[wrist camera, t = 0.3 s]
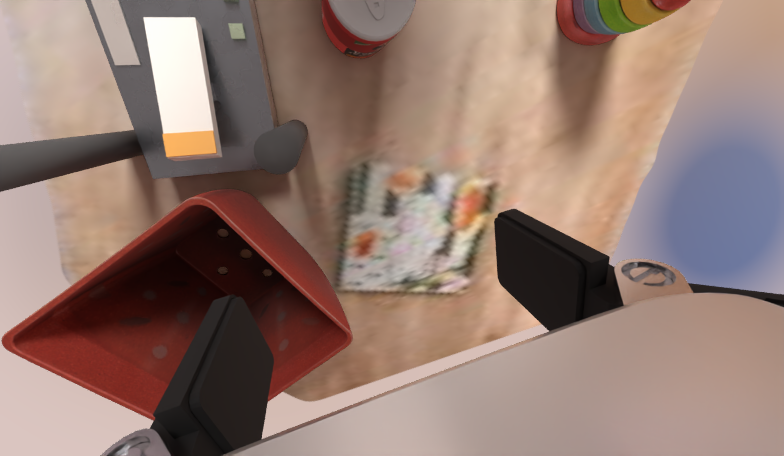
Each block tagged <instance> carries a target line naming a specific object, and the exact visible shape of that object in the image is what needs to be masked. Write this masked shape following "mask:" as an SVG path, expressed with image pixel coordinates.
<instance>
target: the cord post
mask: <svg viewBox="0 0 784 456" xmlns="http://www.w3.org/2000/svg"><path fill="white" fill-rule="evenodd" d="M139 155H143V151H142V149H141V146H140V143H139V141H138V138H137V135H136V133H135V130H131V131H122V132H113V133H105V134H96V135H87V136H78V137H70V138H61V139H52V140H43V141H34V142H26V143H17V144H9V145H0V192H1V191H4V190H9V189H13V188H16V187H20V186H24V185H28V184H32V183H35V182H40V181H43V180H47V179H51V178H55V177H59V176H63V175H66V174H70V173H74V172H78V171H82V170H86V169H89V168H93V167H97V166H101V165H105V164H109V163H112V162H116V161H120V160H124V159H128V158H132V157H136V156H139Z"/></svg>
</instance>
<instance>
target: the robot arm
mask: <svg viewBox="0 0 784 456" xmlns="http://www.w3.org/2000/svg"><path fill="white" fill-rule="evenodd" d="M494 224H495V240H496V256H497V272H498V279H499V282H500V284H501V285H502V286H503V287H504V288H505V289H506V290H507V291H508V292H509V293H510V294H511V295H512V296H513V297H514V298H515V299H516V300H517V301H518V302H519V303H520V304H522V305H523V306H524V307H525V308H526V309H527V310H528V311H529V312H530V313H531V314H532V315H533V316H534V317H535V318H536V319H537V320H538V321H539V322H540V323H541V324H542V325H543V326H544V327H545V328H547V329H548V330H549V332H547V333H544V334H541V335H538V336H536V337H533V338H530V339H528V340H525V341H522V342H519V343H517V344H514V345H511V346H508V347H506V348H503V349H500V350H498V351H495V352H492V353H490V354H487V355H484V356H481V357H478V358H476V359H474V360H470V361H468V362H465V363H463V364H460V365H457V366H454V367H452V368H449V369H446V370H444V371H441V372H438V373H436V374H433V375H430V376H427V377H425V378H422V379H419V380H417V381H414V382H411V383H409V384H406V385H403V386H401V387H398V388H396V389H393V390H390V391H387V392H385V393H382V394H379V395H377V396H374V397H372V398H369V399H366V400H364V401H361V402H359V403H356V404H353V405H350V406H348V407H345V408H343V409H340V410H337V411H335V412H332V413H330V414H327V415H324V416H322V417H319V418H316V419H314V420H311V421H308V422H306V423H303V424H300V425H298V426H295V427H293V428H290V429H287V430H285V431H282V432H280V433H277V434H275V435H272V436H269V437H267V438H265V439H262V440H261V438H262V432H263V426H264V420H265V414H266V408H267V402H268V396H269V390H270V384H271V378H272V372H273V366H274V358H273V354H272V352H271V350H270V348H269V346H268V344H267V342H266V340H265V339H264V337H263V335H262V333H261V331H260V329H259V327H258V326H257V324H256V322H255V320H254V318H253V316H252V314H251V312H250V311H249V309H248V307H247V305H246V303H245V301H244V300H243V298H242V297H236V296H235V295H233V294H232V295H229V296H226V297H222V298H219V299H216V300H214V301H213V302H212V304H211V306H210V308H209V310H208V312H207V314H206V315H205V317H204V319H203V321H202V323H201V325H200V327H199V329H198V330H197V332H196V334H195V336H194V338H193V340H192V342H191V344H190V346H189V347H188V349H187V351H186V353H185V355H184V357H183V359H182V361H181V362H180V364H179V366H178V368H177V370H176V372H175V374H174V376H173V378H172V379H171V381H170V383H169V385H168V387H167V389H166V391H165V393H164V394H163V396H162V398H161V400H160V402H159V404H158V406H157V408H156V410H155V411H154V413H153V416H154V417H155V420H154V422H153V424H152V425H151V427H150V429H142V430H139V431H135V432H134V433H131V434H129V435H127V436H125V437H123V438H122V439H121V440H119V441H118V442H116V443H115V444H113V445H112V446H111V447H110V448H108V449H107V450H106V451H105V452H104V453H103V454H102V455H101V456H784V295H782V294H773V293H765V292H757V291H748V290H740V289H732V288H724V287H715V286H706V285H699V284H689V283H687V281H686V279H685V277H684V276H683V275H682V274H681V273H680V271H678V270H677V269H675V268H673V267H672V266H669V265H667V264H665V263H662V262H658V261H654V260H647V259H628V260H623V261H621V262H619V263H617V264H616V266H615V267H613V266H611V265H609V256H607V255H605V254H603V253H601V252H599V251H597V250H595V249H593V248H591V247H589V246H587V245H585V244H583V243H581V242H579V241H577V240H575V239H573V238H571V237H570V236H568V235H566V234H564V233H562V232H560V231H558V230H556V229H554V228H552V227H550V226H548V225H546V224H544V223H542V222H540V221H538V220H536V219H534V218H532V217H530V216H528V215H526V214H524V213H522V212H520V211H519V210H517V209H511V210H508V211H505V212H501V213H499V214H498V218H496V219H495V221H494Z"/></svg>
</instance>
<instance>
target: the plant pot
mask: <svg viewBox="0 0 784 456" xmlns="http://www.w3.org/2000/svg"><path fill="white" fill-rule="evenodd" d="M219 229H225V230H227V231H228V233H229V235H228V237H226V238H221V237H219V236H218V234H217V231H218V230H219ZM243 249H248V250H250V251H251V253H252V257H251V258H250V259H243V258H241V257H240V251H242V250H243ZM222 266H223V267H226V268H227V269H228V273H227V274H226V275H220V274H219V273H218V272H217V269H218V268H219V267H222ZM265 269H269V270H271V272H272V275H271V276H270V277H264V276H263V274H262V271H263V270H265ZM232 294H233V295H235V296H236V297H242V298H243V300H244V301H245V303H246V305H247V307H248V309H249V311H250V312H251V314H252V316H253V318H254V320H255V322H256V324H257V326H258V327H259V329H260V331H261V333H262V335H263V337H264V339H265V340H266V342H267V344H268V346H269V348H270V350H271V352H272V354H273V358H274V366H273V372H272V378H271V384H270V390H269V396H268V401H270V400H271V399H272V398H274V397H275V396H277V395H278V394H280V393H281V392H283V391H284V390H285V389H287V388H288V387H290V386H291V385H292V384H294V383H295V382H297V381H298V380H300V379H301V378H302V377H304V376H305V375H307V374H308V373H310V372H311V371H313V370H314V369H315V368H317V367H318V366H320V365H321V364H323V363H324V362H326V361H327V360H328V359H330V358H331V357H333V356H334V355H336V354H337V353H338V352H340V351H341V350H343V349H344V348H346V347H347V346H348V345H349V344H350V343H351V342H352V339H353V336H352V333H351V330H350V327H349V324H348V321H347V319H346V316H345V314H344V311H343V309H342V307H341V304H340V302H339V300H338V298H337V296H336V294H335V292H334V290H333V288H332V286H331V285H330V283H329V281H328V279H327V278H326V276H325V275H324V273H323V272H322V270H321V269H320V267H319V266H318V264H317V263H316V262H315V260H314V259H313V258H312V257H311V255H310V254H309V253H308V252H307V251H306V250H305V249H304V248H303V247H302V246H301V245H300V244H299V243H298V242H297V241H296V240H295V239H294V238H293V237H292V236H291V235H290V234H289V233H288V232H287V230H286V229H285V228H284V227H283V226H282V225H281V224H280V223H279V222H278V221H277V220H276V219H275V218H274V217H273V216H272V215H271V214H270V213H269V212H268V211H267V210H266V209H265V208H264V207H263V206H262V205H261V203H260V202H259V201H258V200H257V199H256V198H255V197H254V196H252V195H251V194H249V193H246V192H244V191H241V190H235V189H220V190H214V191H210V192H206V193H202V194H199V195H196V196H193V197H191V198H189V199H187V200H185V201H184V202H182V203H181V204H180V205H178V206H177V207H176V208H175V209H173V210H172V211H171V212H169V213H168V214H167V215H165V216H164V217H163V218H161V219H160V220H159V221H158V222H156V223H155V224H154V225H152V226H151V227H150V228H148V229H147V230H146V231H144V232H143V233H142V234H141V235H139V236H138V237H137V238H135V239H134V240H133V241H131V242H130V243H129V244H127V245H126V246H125V247H123V248H122V249H121V250H119V251H118V252H117V253H115V254H114V255H113V256H111V257H110V258H108V259H107V260H106V261H104V262H103V263H102V264H100V265H99V266H98V267H96V268H95V269H94V270H92V271H91V272H90V273H88V274H87V275H85V276H84V277H83V278H81V279H80V280H79V281H77V282H76V283H75V284H73V285H72V286H70V287H69V288H68V289H66V290H65V291H64V292H63V293H61V294H60V295H58V296H57V297H55V298H54V299H53V300H52V301H50V302H49V303H47V304H46V305H44V306H43V307H42V308H40V309H39V310H37V311H36V312H35V313H33V314H32V315H30V316H29V317H28V318H26V319H25V320H24V321H22V322H21V323H19V324H18V325H16V326H15V327H14V328H12V329H11V330H9V331H8V332H7V333H6V334H4V336H3V337H2V344H3V346H4V347H5V348H6V349H7V350H8V351H10V352H12V353H14V354H16V355H18V356H20V357H22V358H24V359H26V360H28V361H29V362H32V363H34V364H36V365H38V366H40V367H42V368H44V369H46V370H48V371H51V372H53V373H55V374H57V375H59V376H61V377H63V378H65V379H67V380H69V381H71V382H73V383H75V384H78V385H80V386H82V387H84V388H86V389H88V390H90V391H92V392H94V393H96V394H98V395H100V396H102V397H104V398H107V399H109V400H111V401H113V402H115V403H117V404H120V405H122V406H124V407H126V408H128V409H130V410H132V411H134V412H136V413H139V414H141V415H143V416H145V417H147V418H149V419H151V420H153V421H154V420H155V417H154V416H153V413H154V411H155V410H156V408H157V406H158V404H159V402H160V400H161V398H162V396H163V394H164V393H165V391H166V389H167V387H168V385H169V383H170V381H171V379H172V378H173V376H174V374H175V372H176V370H177V368H178V366H179V364H180V362H181V361H182V359H183V357H184V355H185V353H186V351H187V349H188V347H189V346H190V344H191V342H192V340H193V338H194V336H195V334H196V332H197V330H198V329H199V327H200V325H201V323H202V321H203V319H204V317H205V315H206V314H207V312H208V310H209V308H210V306H211V304H212V302H213V301H214V300H216V299H219V298H222V297H226V296H229V295H232Z"/></svg>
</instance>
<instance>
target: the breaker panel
mask: <svg viewBox="0 0 784 456" xmlns="http://www.w3.org/2000/svg"><path fill="white" fill-rule="evenodd" d="M86 3H87V6H88V8H89V11H90V14H91V16H92V19H93V22H94V24H95V27H96V30H97V32H98V35H99V37H100V40H101V43H102V45H103V48H104V51H105V53H106V56H107V59H108V61H109V64H110V67H111V69H112V72H113V74H114V77H115V80H116V82H117V85H118V88H119V90H120V93H121V96H122V98H123V101H124V104H125V106H126V109H127V112H128V114H129V117H130V119H131V122H132V125H133V127H134V130H135V133H136V135H137V138H138V141H139V143H140V146H141V149H142V151H143V154H144V156H145V159H146V162H147V164H148V167H149V170H150V172H151V175H152V178H153V179H159V178H169V177H180V176H191V175H202V174H212V173H223V172H234V171H245V170H255V169H263V168H262V167H261V166H260V165H259V164H258V163H257V161H256V159H255V156H254V145H255V142H256V140H257V139H258V137H259V136H261V135H262V134H263V133H266V132H268V131H270V130H272V129H274V128H277V127H279V126H278V121H277V116H276V111H275V106H274V101H273V95H272V90H271V85H270V80H269V75H268V70H267V64H266V59H265V54H264V49H263V44H262V39H261V33H260V28H259V23H258V18H257V13H256V8H255V2H254V0H86ZM143 17H195V18H196V19H197V21H198V22H199V24H200V25H201V29H202V35H203V41H204V47H205V53H206V59H207V65H208V72H209V78H210V84H211V90H212V96H213V102H214V108H215V115H216V121H217V127H218V133H219V139H220V145H221V152H222V157H220V158H208V159H196V160H184V161H173V160H170V159H168V157H166V152H165V146H164V141H163V135H162V134H163V128H162V122H161V116H160V111H159V105H158V99H157V93H156V88H155V82H154V76H153V70H152V64H151V59H150V53H149V47H148V41H147V36H146V30H145V24H144V18H143Z"/></svg>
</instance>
